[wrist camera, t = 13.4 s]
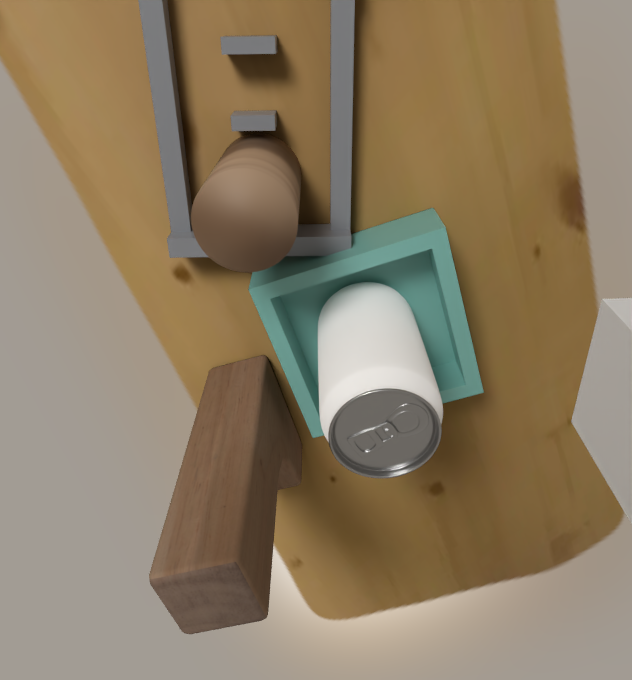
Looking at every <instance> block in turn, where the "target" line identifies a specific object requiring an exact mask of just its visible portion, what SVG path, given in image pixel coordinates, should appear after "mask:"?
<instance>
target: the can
mask: <svg viewBox="0 0 632 680" xmlns="http://www.w3.org/2000/svg"><path fill="white" fill-rule="evenodd" d="M318 382H319V413H320V422H321V427H322V431H323V433H324V435H325V437H326V439H327V441H328V442H329V445H330V448H331V451H332V453H333V455H334V456H335V458H336V459H337V460H338V461H339V462H340V463H341V464H342V465H343V466H344V467H345V468H347V469H348V470H350V471H352V472H354V473H356V474H359V475H362V476H366V477H371V478H392V477H397V476H401V475H404V474H407V473H410V472H412V471H414V470H416V469H417V468H419V467H421V466H422V465H423V464H425V463H426V462H427V461H428V460H429V459H430V458H431V457H432V455H433V454H434V453H435V451H436V449H437V447H438V445H439V443H440V439H441V432H442V429H441V423H442V419H443V404H442V399H441V395H440V392H439V389H438V386H437V382H436V379H435V376H434V373H433V370H432V367H431V364H430V361H429V358H428V355H427V352H426V349H425V346H424V344H423V341H422V338H421V335H420V332H419V329H418V326H417V323H416V320H415V317H414V315H413V312H412V310H411V308H410V306H409V304H408V303H407V301H406V300H405V299H404V298H403V296H401V295H400V294H399V293H398V292H397V291H396V290H394V289H393V288H391V287H389V286H386V285H384V284H380V283H374V282H361V283H355V284H352V285H349V286H346V287H344V288H342V289H340V290H339V291H337V292H336V293H335V294H333V295H332V296H331V297H330V298H329V299H328V300H327V302H326V303H325V305H324V306H323V308H322V310H321V313H320V316H319V320H318Z"/></svg>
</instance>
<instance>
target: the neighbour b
mask: <svg viewBox="0 0 632 680" xmlns="http://www.w3.org/2000/svg"><path fill="white" fill-rule="evenodd" d="M300 191H301V168H300V164H299V161H298V159H297V157H296V155H295V153H294V152H293V151H292V149H291V148H290V147H289V146H288V145H287V144H286V143H285V142H283V141H282V140H280V139H279V138H277V137H274V136H272V135H268V134H263V133H253V134H248V135H245V136H242V137H240V138H238V139H237V140H235V141H234V142H233V143H232V144H231V145H230V146H229V147H228V148H227V149H226V151H225V152H224V154H223V155H222V157H221V158H220V160H219V161H218V163H217V164H216V166H215V167H214V169H213V170H212V172H211V173H210V175H209V176H208V178H207V179H206V181H205V183H204V184H203V186H202V187H201V189H200V190H199V192H198V193H197V195H196V197H195V199H194V202H193V205H192V211H191V224H192V229H193V233H194V236H195V238H196V240H197V242H198V244H199V246H200V247H201V249H202V250H203V251H204V252H205V254H206V255H207V256H208V257H209V258H211V259H212V260H213V261H214V262H216V263H217V264H219V265H221V266H223V267H225V268H227V269H230V270H233V271H238V272H258V271H262V270H265V269H268V268H270V267H272V266H274V265H276V264H277V263H278V262H280V261H281V260H282V259H283V258H284V257H285V256H286V255H287V254H288V252H289V251H290V249H291V248H292V246H293V244H294V242H295V239H296V235H297V229H298V218H299V204H300Z"/></svg>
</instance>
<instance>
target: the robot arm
mask: <svg viewBox="0 0 632 680" xmlns="http://www.w3.org/2000/svg"><path fill="white" fill-rule="evenodd" d="M571 422H572V424H573V426H574V427H575V429H576V431H577V432H578V434H579V436H580V437H581V439H582V441H583V443H584V444H585V446H586V448H587V449H588V451H589V453H590V454H591V456H592V458H593V460H594V461H595V463H596V465H597V466H598V468H599V470H600V471H601V473H602V475H603V476H604V478H605V480H606V482H607V483H608V485H609V487H610V488H611V490H612V492H613V493H614V495H615V497H616V499H617V500H618V502H619V504H620V505H621V507H622V509H623V510H624V512H625V514H626V516H627V517H628V519H629V521H630V522H631V524H632V298H615V299H602V301H601V305H600V309H599V313H598V317H597V321H596V325H595V329H594V333H593V337H592V341H591V345H590V349H589V353H588V357H587V361H586V365H585V369H584V373H583V377H582V381H581V385H580V389H579V393H578V397H577V401H576V405H575V409H574V413H573V417H572V421H571Z"/></svg>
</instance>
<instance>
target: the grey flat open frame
mask: <svg viewBox="0 0 632 680" xmlns="http://www.w3.org/2000/svg"><path fill="white" fill-rule="evenodd" d="M138 1H139V8H140V15H141V22H142V29H143V36H144V43H145V50H146V57H147V64H148V71H149V78H150V85H151V92H152V99H153V106H154V113H155V121H156V128H157V135H158V142H159V149H160V156H161V163H162V170H163V177H164V184H165V191H166V198H167V205H168V212H169V219H170V226H171V233H170V235H169V236H168V238H167V242H168V249H169V256H170V258H175V257H208V256H207V255H206V254H205V252H204V251H203V250H202V249H201V247H200V246H199V244H198V242H197V240H196V238H195V236H194V233H193V229H192V224H191V211H192V202H191V193H190V185H189V177H188V168H187V160H186V152H185V143H184V135H183V127H182V119H181V110H180V102H179V94H178V85H177V77H176V69H175V60H174V52H173V44H172V35H171V27H170V19H169V11H168V2H167V0H138ZM354 15H355V0H331V51H330V224H298V229H297V235H296V239H295V242H294V244H293V246H292V248H291V249H290V251H289V252H288V254H287V255H286V256H328V255H331V254H334V253H337V252H340V251H343V250H347V249H350V248H351V231H350V217H351V167H352V116H353V65H354ZM221 49H222V54H276V53H277V52H278V50H277V35H269V36H223V37H221ZM231 126H232V131H275V130H276V127H277V112H276V111H234V112H233V114H232V115H231Z"/></svg>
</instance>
